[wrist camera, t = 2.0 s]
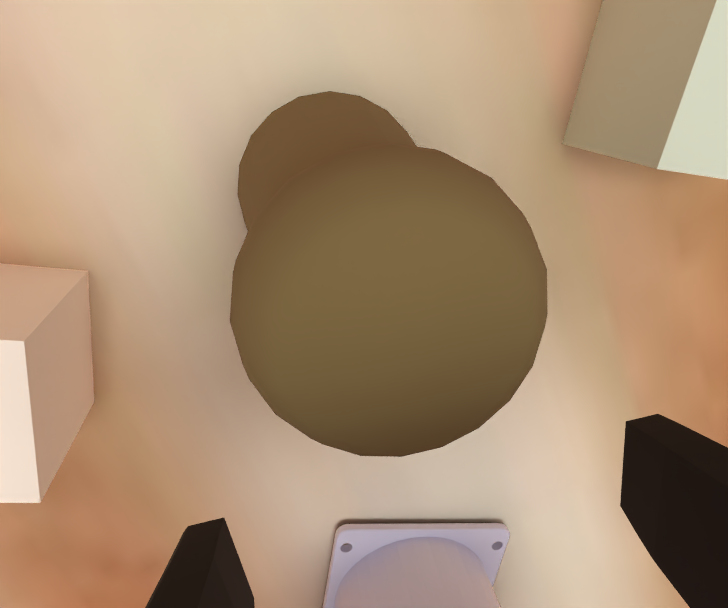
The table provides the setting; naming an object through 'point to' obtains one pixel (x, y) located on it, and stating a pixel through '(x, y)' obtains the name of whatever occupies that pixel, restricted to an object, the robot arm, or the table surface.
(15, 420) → the off-white block
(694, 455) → the robot arm
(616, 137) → the sage-green block
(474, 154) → the table surface
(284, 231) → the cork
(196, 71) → the table surface
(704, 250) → the table surface
